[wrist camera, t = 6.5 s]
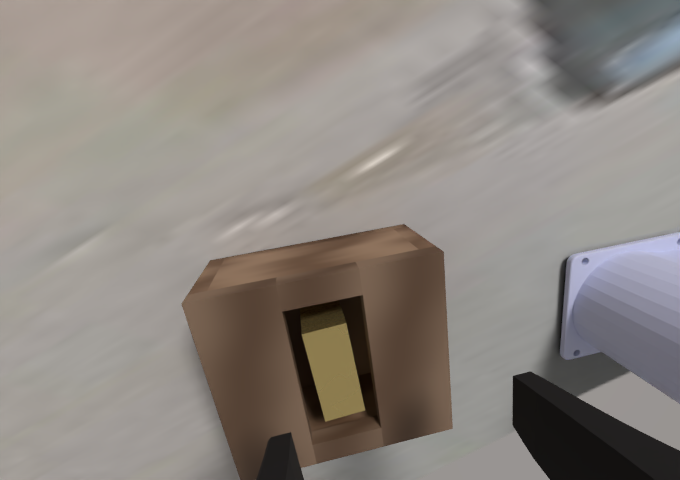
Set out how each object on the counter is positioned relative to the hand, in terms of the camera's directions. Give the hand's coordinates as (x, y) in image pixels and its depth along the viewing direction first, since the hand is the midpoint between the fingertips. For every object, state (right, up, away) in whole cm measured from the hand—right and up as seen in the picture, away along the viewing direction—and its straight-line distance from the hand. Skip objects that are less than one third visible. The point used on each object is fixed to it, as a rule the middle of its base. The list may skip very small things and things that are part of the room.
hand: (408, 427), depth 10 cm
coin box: (-3, +1, +10) cm, 10 cm away
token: (-3, +1, +9) cm, 10 cm away
